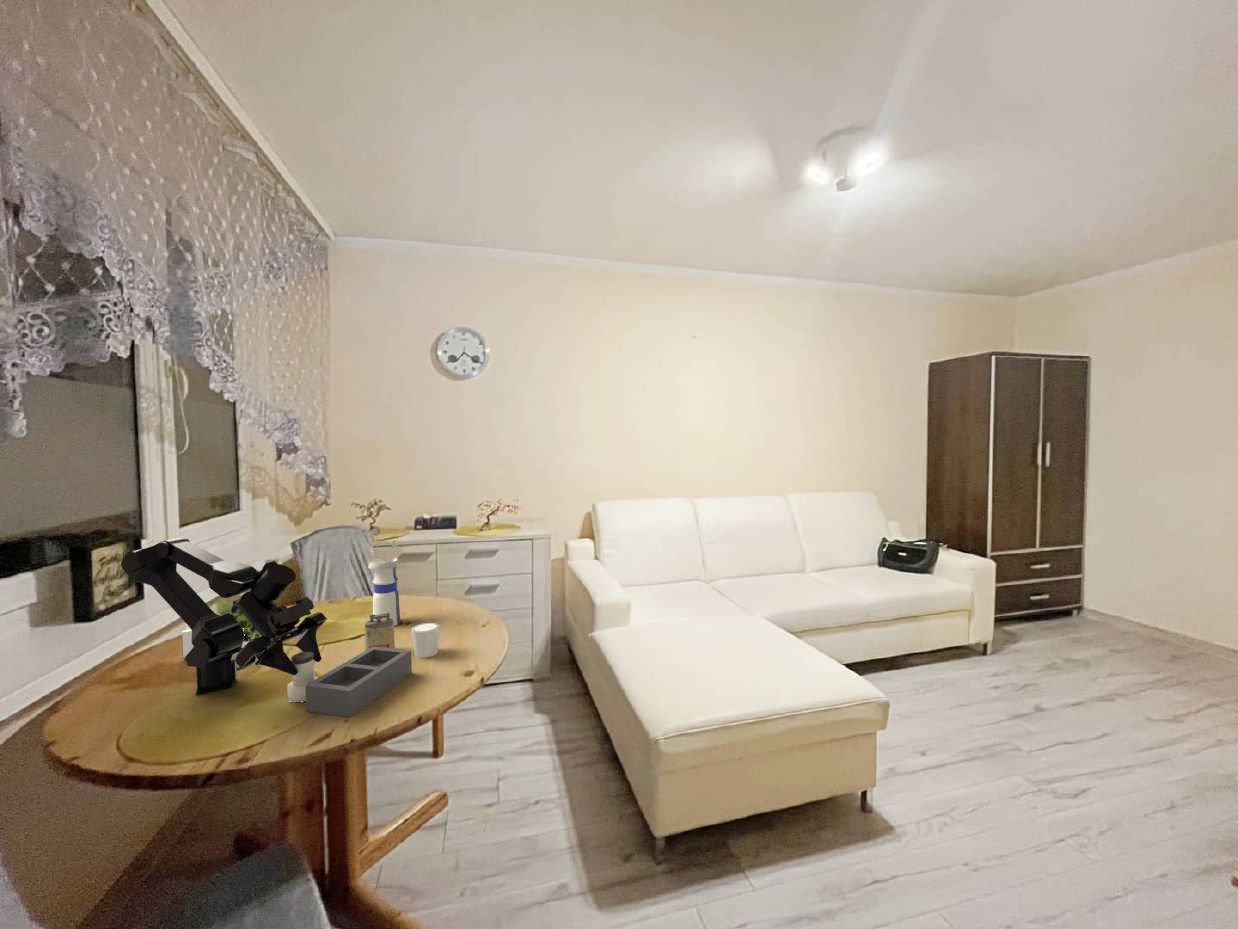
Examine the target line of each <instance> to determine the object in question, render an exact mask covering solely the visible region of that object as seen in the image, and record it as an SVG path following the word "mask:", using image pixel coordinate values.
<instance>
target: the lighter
mask: <svg viewBox="0 0 1238 929" xmlns="http://www.w3.org/2000/svg"><path fill="white" fill-rule="evenodd" d="M382 618H387V619H382ZM373 619H376V620H373ZM364 646H365V647H364V649H365V651H366V650H368V649H369V648H371V647H383V648H393V649H396V647H395V626H394V622H393V619H391V618H390V612H387V613H385V614H379V615H373V614H370V615H369V620H367V621H366V622H365V623H364Z"/></svg>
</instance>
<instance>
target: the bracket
mask: <svg viewBox="0 0 1238 929" xmlns="http://www.w3.org/2000/svg"><path fill="white" fill-rule="evenodd" d="M181 634H182V635H181V637H182V653H183V658H185V657H186V655H187V654H188V653H189V652H190V651H191V650H192V648H193V647H194V646H193V645H192V643H191V640H192V630H191V629H190V627H189V626H188V625H187V624H186V623H185V630H182V632H181Z"/></svg>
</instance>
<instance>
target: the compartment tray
mask: <svg viewBox="0 0 1238 929" xmlns="http://www.w3.org/2000/svg"><path fill="white" fill-rule="evenodd" d="M412 666H413V665H412V650H411V649H401V648H395V649H393V648H383V647H371V648H369V649H368V650H366V651H362V652H361V653H359V654H356V656H353V657H352V658H351V659H348V660H347V661H345V662H343V663H342V664H339V665H338V666H336V667H334V668H332V669H331V670H329V671H328V672H326V673H324V674H323V675H321V676H320V677H319V676H318V677H319V678H317V679H316V680H314V681H312V682H311V683H309V684H307V685H306V702H305V703H306V705H305V706H306V712H307V711H312V712H311V713H314V712H315V713H314V714H322V715H323V714H324V715H328V716H330V715H331V716H336V717H342V718H343V717H344V718H352V717H353V716H355V715H357V714H358V713H359V712H360V711H362V710H363V709H364V708H366V707H367V706H368V705H370V704H371V703H372V702H374V701H375V700H377V699H378V698H379V697H381V696H382V695H384V694H385V693H386V692H387V691H389V690H390V689H392V688H394V686H396V685H398V683H400V682H401V681H403V680H404V679H406V678H407V677H408V676H410V675H411V674H412V670H413V668H412Z"/></svg>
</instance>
